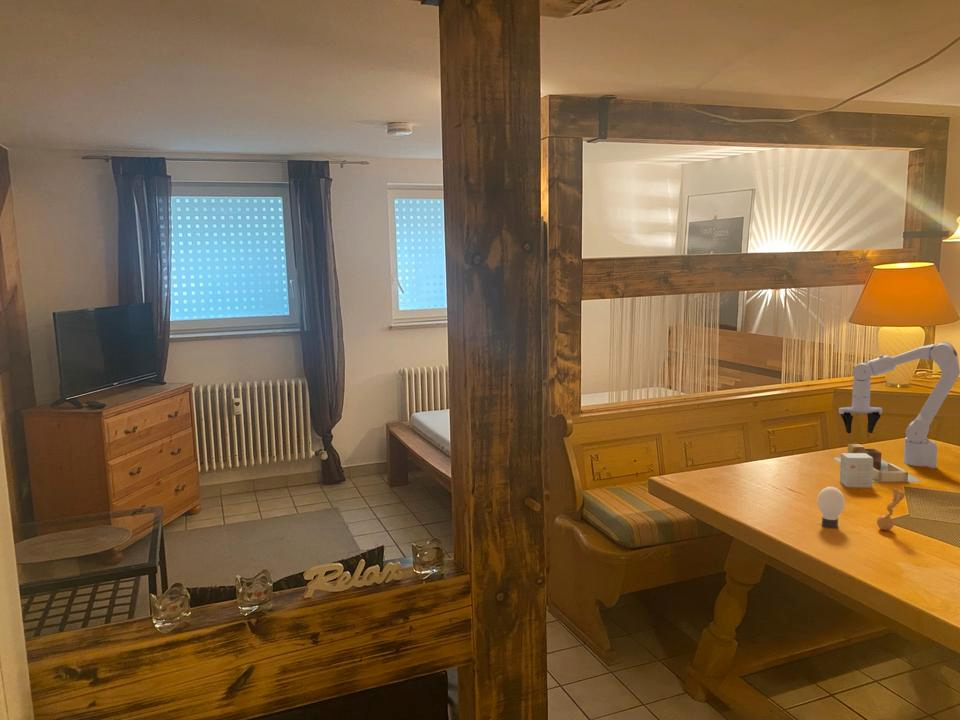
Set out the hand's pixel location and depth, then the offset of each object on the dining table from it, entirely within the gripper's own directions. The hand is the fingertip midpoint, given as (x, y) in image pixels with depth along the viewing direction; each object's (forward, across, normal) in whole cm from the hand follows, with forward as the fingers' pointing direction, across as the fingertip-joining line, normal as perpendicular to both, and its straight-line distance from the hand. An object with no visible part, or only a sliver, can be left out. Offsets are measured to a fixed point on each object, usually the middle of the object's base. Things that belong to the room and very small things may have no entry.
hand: (859, 432), depth 257 cm
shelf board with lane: (+9, +2, +16) cm, 19 cm away
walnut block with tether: (+9, +3, +10) cm, 13 cm away
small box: (+10, +16, +33) cm, 38 cm away
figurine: (+10, +24, +70) cm, 75 cm away
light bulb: (+10, +38, +66) cm, 77 cm away
